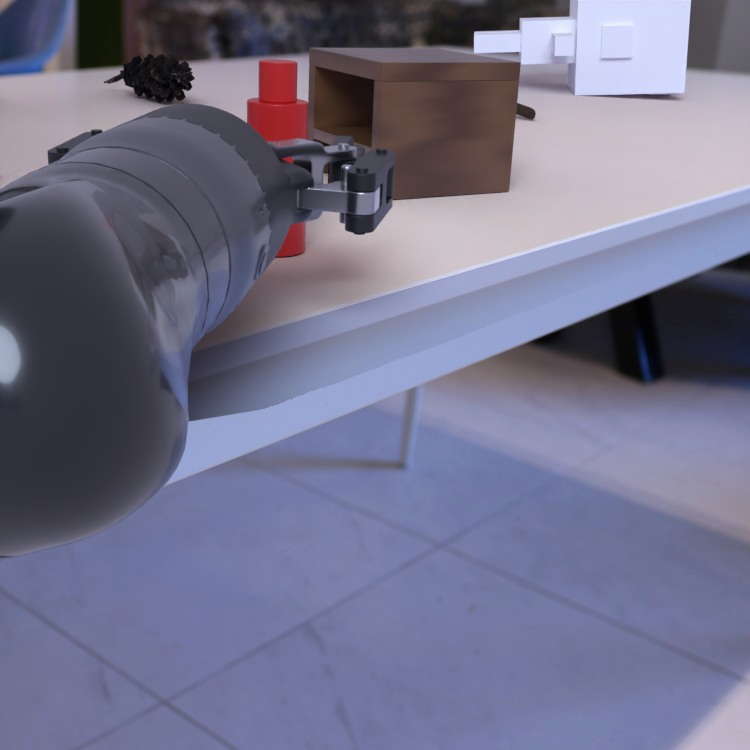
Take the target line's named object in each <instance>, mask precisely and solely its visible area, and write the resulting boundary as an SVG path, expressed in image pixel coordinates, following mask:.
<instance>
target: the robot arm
mask: <svg viewBox="0 0 750 750" xmlns="http://www.w3.org/2000/svg"><path fill="white" fill-rule="evenodd" d="M289 157H292V158H293V163H290V162H288V161H285V160H283V159H281V158H289ZM327 163H328V173H327V183H324V173H323V172H324V167H325V165H326V164H327ZM394 163H395V152H392V151H387V149H386V148H376V150H371V151H368V152H367V153H366V154H365V147H363V146H358V145H354V138H353V136H340V135H339V136H338V137H337V138H336V139H335V140H334V141H333V142H332V143H331V144H330V145H329V146H325V147H324V146H323V145H322V144H321V143H319V142H315V141H310V140H305V139H300V138H297V139H288V140H279V141H270V142H268V141H266V140H265V139H264V138H263V137H262V136H261V135H260V134H259V133H258V132H257V131H256V130H255V129H254V128H253V127H251V126H250V125H249V124H248V123H247V121H245V120H244V119H242V118H240V117H239V116H237V115H235V114H233V113H231V112H229V111H226V110H224V109H221V108H218V107H216V106H212V105H207V104H199V103H176V104H171V105H166V106H163V107H160V108H157V109H154V110H151V111H149V112H147V113H145V114H142V115H140V116H137V117H135V118H132V119H130V120H127V121H125V122H123V123H121V124H118V125H116V126H114V127H112V128H111V127H110V128H108V129H107V130H104V131H103V130H102V129H99V128H98V129H97V128H96V129H95V128H94V129H93V128H92V129H91V130H90V131H86V132H82V133H80V134H79V135H77V136H75V137H73V138H72V137H71V139H68V140H66V141H64V142H62V143H60V144H58V145H56V146H54V147H52V148H50V149H48V150H47V165H44V166H42V167H40V168H38V169H35V170H32V171H30V172H27V173H25V174H24V175H23V176H20V177H19V178H17V179H15V180H13V181H11V182H9V183H8V184H6V185H5V186H3V187H2V188H0V561H4V560H9V559H14V558H17V557H21V556H26V555H31V554H34V553H38V552H43V551H48V550H51V549H55V548H60V547H63V546H67V545H70V544H74V543H78V542H80V541H83V540H86V539H88V538H91V537H93V536H96V535H98V534H101V533H102V532H104V531H106V530H108V529H110V528H112V527H114V526H116V525H117V524H119V523H120V522H123V521H124V520H125V519H127V518H128V517H129V516H131V515H133V514H134V513H135V512H136V511H138V510H139V509H140V508H142V507H143V506H145V504H147V503H148V502H149V501H150V500H151V499H152V498H154V497H155V495H157V494H158V493H159V492H160V491H161V489H163V488H164V486H165V485H166V484H167V483H169V481H170V479H171V478H172V477H173V475H174V474H175V473H176V470H177V469H178V467H179V465H180V463H181V461H182V458H183V456H184V454H185V451H186V445H187V438H188V430H189V422H190V419H189V418H190V416H189V415H190V413H189V375H190V370H191V369H190V368H191V361H192V360H191V358H192V352H193V349H194V348H195V347H196V346H197V344H198V343H199V342H200V341H201V340H202V339H203V337H204V336H206V335H208V334H209V333H211V332H212V331H214V330H215V329H216V328H217V327H219V326H220V325H221V324H222V323H224V322H225V320H226V319H227V318H228V317H229V316H230V315H231V314H232V313H233V312H234V311H235V310H236V308H237V307H238V306H239V304H240V303H241V302H242V300H243V299H244V298H245V297H246V296H247V294H248V293H249V292H250V291H251V289H252V288H253V287H254V286H255V284H256V283H257V282H258V280H259V279H260V278H261V276H262V275H263V274H264V273H265V271H266V270H267V268H268V267H269V266H270V265H271V264H272V262H273V261H274V260H275V258H277V257H276V255H277V253H278V252H279V250H280V248H281V246H282V244H283V242H284V240H285V238H286V235H287V233H288V230H289V228H290V225H293V224H297V223H301V222H306V223H307V222H311V221H316V220H318V219H320V218H321V217H322V215H323V213H324V212H327V213H328V212H329V213H338V214H339V223H340V224H343V225H344V230H345V231H346V232H348V233H352V234H353V235H358V236H364V235H366V234H368V233H369V234H371V233H373V232H375V230H376V229H377V228H378V227H379V226H380V224H381V223H382V222H383V220H384V218H385V217H386V216H387V215H388V213H389V212H390V210H391V209H392V208H393V201H394V200H393V182H394Z"/></svg>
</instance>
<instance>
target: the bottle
mask: <svg viewBox="0 0 750 750" xmlns="http://www.w3.org/2000/svg"><path fill="white" fill-rule="evenodd" d="M298 66H299V65H298V62H297V61H296V60H291V59H275V58H272V59H270V58H267V59H260V60H258V97H251V98H249V99H247V100H246V123H248V124H249V125H250V126H251V127H253V128H254V129H255V130H256V131H257V132H258V133H259V134H260V135H261V136H262V137H263V138H264V139H265V140H266V141H268V142H270V141H279V140H288V139H297V138H300V139H305V140H308V100H305V99H301V98H298V68H299V67H298ZM281 159H283V160H285V161H288V162H290V163H293V158H292V157H289V158H281ZM306 228H307V221H306V222H301V223H297V224H293V225H290V228H289V230H288V233H287V235H286V238H285V240H284V242H283V244H282V246H281V248H280V250H279V252H278V253H277V255H276V257H275V258H286V257H294V256H298V255H301V254H303V253H304V252H305V251H306V232H307V229H306Z"/></svg>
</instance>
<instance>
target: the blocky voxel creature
mask: <svg viewBox="0 0 750 750" xmlns="http://www.w3.org/2000/svg"><path fill="white" fill-rule="evenodd" d="M691 6H692V0H569V15H568V16H546V17H545V16H544V17H541V16H540V17H520V18H519V27H518V28H519V29H516V30H511V29H509V30H480V31H479V30H478V31H477V30H476V31H473V32H474V33H473V54H491V53H492V54H494V53H496V54H497V53H518V60H519V62H520V63H521V66H522V65H556V64H558V65H559V64H567V80H566V81H567V83H566V84H567V86H568V88H569V89H570V91H571V92H572V93H573V95H574V96H610V95H613V96H615V95H617V96H619V95H620V96H621V95H646V96H668V95H669V96H670V95H672V94H685V91H686V76H687V64H688V51H689V48H688V47H689V36H690V35H689V34H690V21H691V8H692V7H691Z"/></svg>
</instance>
